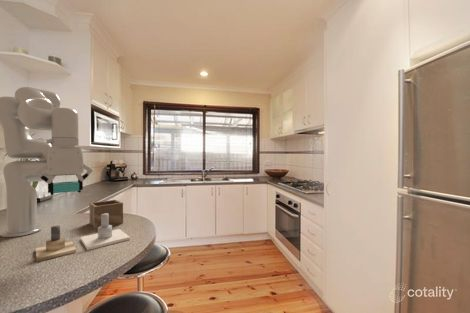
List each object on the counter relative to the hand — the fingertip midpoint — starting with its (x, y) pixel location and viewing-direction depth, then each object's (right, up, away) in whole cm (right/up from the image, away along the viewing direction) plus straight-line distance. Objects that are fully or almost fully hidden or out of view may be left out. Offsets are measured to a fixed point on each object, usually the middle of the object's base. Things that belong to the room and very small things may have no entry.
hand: (65, 193), depth 77 cm
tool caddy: (-4, -20, +30) cm, 37 cm away
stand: (-2, -20, -2) cm, 20 cm away
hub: (+9, -20, +8) cm, 23 cm away
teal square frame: (0, +1, 0) cm, 1 cm away
